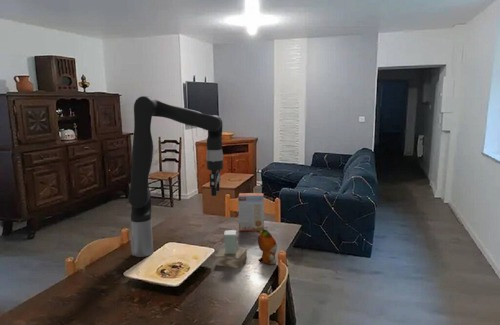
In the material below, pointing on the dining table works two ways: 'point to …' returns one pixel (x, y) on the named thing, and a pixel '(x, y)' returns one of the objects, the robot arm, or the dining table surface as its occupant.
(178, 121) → the robot arm
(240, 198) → the cracker box
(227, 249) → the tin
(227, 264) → the beige box
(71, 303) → the dining table surface
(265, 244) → the toy
